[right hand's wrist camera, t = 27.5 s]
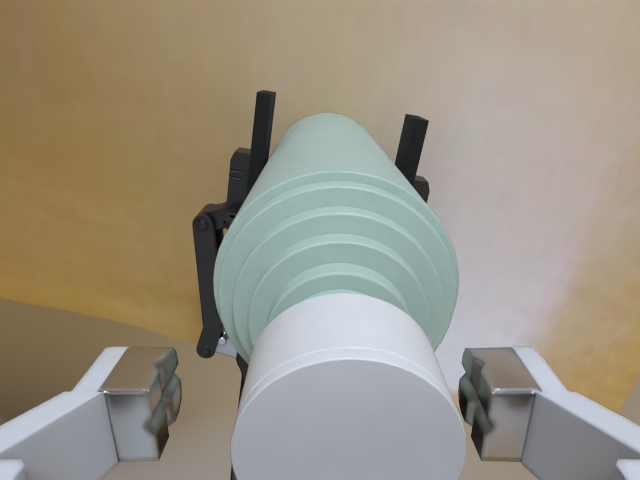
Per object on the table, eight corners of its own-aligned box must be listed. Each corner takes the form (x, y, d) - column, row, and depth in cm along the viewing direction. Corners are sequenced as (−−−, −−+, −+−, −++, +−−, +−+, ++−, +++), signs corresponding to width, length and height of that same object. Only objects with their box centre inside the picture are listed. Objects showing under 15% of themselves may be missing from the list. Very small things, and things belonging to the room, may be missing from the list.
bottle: (382, 111, 31) (583, 239, 7) (378, 218, 33) (515, 560, 10) (270, 113, 31) (114, 244, 7) (275, 219, 33) (173, 563, 10)
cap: (462, 317, 10) (504, 388, 7) (401, 461, 11) (420, 556, 9) (271, 271, 9) (256, 333, 7) (233, 427, 11) (211, 517, 9)
